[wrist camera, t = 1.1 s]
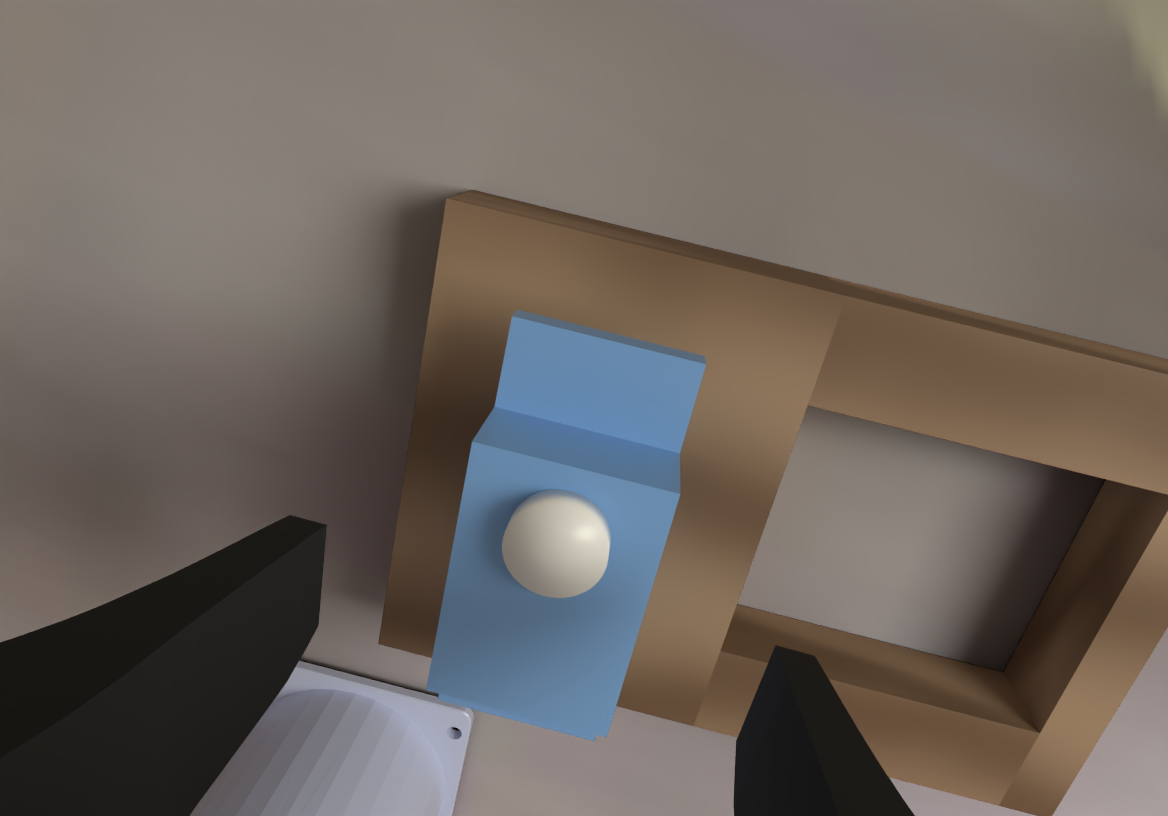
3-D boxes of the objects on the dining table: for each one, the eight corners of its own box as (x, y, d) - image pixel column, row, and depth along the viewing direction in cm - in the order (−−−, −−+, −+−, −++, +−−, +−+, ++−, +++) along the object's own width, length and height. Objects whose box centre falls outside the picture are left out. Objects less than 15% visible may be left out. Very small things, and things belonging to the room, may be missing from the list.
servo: (604, 659, 22) (583, 827, 16) (469, 624, 22) (404, 780, 17) (701, 326, 18) (712, 407, 13) (537, 286, 18) (482, 349, 13)
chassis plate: (1013, 752, 24) (1049, 819, 22) (406, 595, 25) (378, 643, 22) (1227, 373, 20) (1302, 407, 17) (472, 189, 20) (446, 198, 18)
